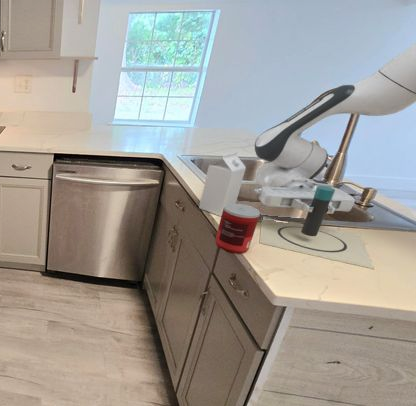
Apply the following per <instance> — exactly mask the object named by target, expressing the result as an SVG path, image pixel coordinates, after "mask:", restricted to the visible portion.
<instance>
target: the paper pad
mask: <svg viewBox="0 0 416 406" xmlns="http://www.w3.org/2000/svg"><path fill="white" fill-rule="evenodd" d="M269 218H270V217H269ZM269 218H265V219H269ZM260 222H261V223H260V234H259V244H260V245H261V244H262V245H264V246H270V247H273V248H278V249H281V250H282V249H283V250H287V251H291V252H296V253H300V254H305V255H308V256H313V257H318V258H322V259H327V260H332V261H335V262H340V263H344V264H349V265H354V266H357V267H362V268H366V269H370V270H375V269H376V268H375V266H374V263H373V261H372V259H371V256H370V254H369V252H368V249H367V246H366V244H365V242H364V240H363V237H362V235H361V234H358V233H353V232H348V231H342V230H336V229H332V228H326V227H321V226H320V228H319V231H318V233H317V236H308V235H305V234H303V233H301V230H302V228H303V225H304V223H300V222H296V221H290V222H288V223H283V222H276V221H274V220H262V219H261V221H260Z"/></svg>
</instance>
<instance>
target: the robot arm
mask: <svg viewBox="0 0 416 406" xmlns="http://www.w3.org/2000/svg"><path fill="white" fill-rule="evenodd" d="M415 103H416V43H415V44H413V45H411V46H410V47H408V48H407V49H405V50H404V51H402V52H401V53H399V54H398V55H396V56H395V57H393V58H392V59H390V60H389V61H388V62H386V63H385V64H383V66H381V67H380V68H379V69H378V70H376V71H375V72H373V73H372V74H371V75H369V76H367V77H366V78H363V79H361V80H359V81H356V82H355V83H351V84H343V85H339V86H337V87H335V88H333V89H332V90H330V91H328V92H327V93H325V94H324V95H322V96H320V97H318V98H317V99H316V100H314V101H312V102H311V103H309V104H307V105H306V106H305V107H303V108H302V109H300V110H299V111H297V112H296V113H294V114H292V115H291V116H290V117H288V118H287V119H285V120H284V121H281V122H280V123H279V124H277V125H274V126H272V127H270V128H268V129H267V130H265V131H263V132H262V133H260V135H258V136H257V138H256V140H255V142H254V152H255V154H256V157H257V158H259V159H261V160H264V161H267V162H266V163H263V164H262V165H260V166H259V167H258V168H257V169H256V171H255V175H254V176H255V177H254V178H255V181H256V183H257V185H258V186H259V187H258V188H254V189H253V193H254V194H255V195H257V196H258V199H259V201H260V203H261V204H263V205H264V206H266V207H273V208H287V209H288V208H290V209H297V210H300V211H302V212H304V213H308V212H312V211H313V209H314V207H313V206H312V205H311V204H312V201H313V198H314V194H315V192H316V189H317V187H318V186H326V187H331V188H333V189H335V192H334V194H333V197H332V199H331V200H330V203H329V206H328V208H327V211H326V213H325V215H326V214H329V215H330V214H331V215H333V214H334V213H335V212H350V211H351V210H352V208H353V207H354V205H355V201H356V199H355V198H354V197H353V196H352V195H351V194H349V193H347V192H346V191H343V190H342V189H340V188H337V187H334V184H333V183H332V182H329V181H323V180H316V179H314V178H316V177H317V176H318V175H319V174H321V173H322V171H324V169H325V168H326V166H327V163H328V158H329V156H328V151H327V149H325V148H324V147H322V146H320V145H318V144H316V143H314V142H312V141H309V140H308V139H305V138H303V137H301V136H299V134H301V133H303V132H304V131H306V130H308V129H309V128H311V127H312V126H314V125H316V124H317V123H318V122H320V121H322V120H323V119H325V118H327V117H330V116H334V115H340V114H341V115H342V114H343V115H344V114H347V115H349V114H351V115H361V116H368V117H381V116H389V115H394V114H398V113H399V112H402V111H403V110H405V109H407V108H409V107H410V106H412V105H413V104H415Z"/></svg>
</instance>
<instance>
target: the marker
mask: <svg viewBox="0 0 416 406" xmlns="http://www.w3.org/2000/svg"><path fill="white" fill-rule="evenodd" d="M334 192H335V189H333V188H331V187H326V186H318V187H317V189H316V192H315V194H314V198H313V201H312V204H311V205H312V206H313V207H314V209H313V211H312V212H307V215H306V217H305V219H304V223H303V224H304V225H303V228H302V230H301V233H303V234H305V235H308V236H317V233H318V231H319V228H320V227H321V226H322V223H323V220H324V218H325V215H326V211H327V208H328V206H329V203H330V200H331V199H332V197H333V194H334Z"/></svg>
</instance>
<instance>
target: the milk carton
mask: <svg viewBox="0 0 416 406" xmlns="http://www.w3.org/2000/svg"><path fill="white" fill-rule="evenodd" d="M246 169H247V168H246V165H245V164H244V163H243V161H242V160H241V159H240V158H239V156H238V151H235V152H231V153H227V154H224V155H222V158H221V159H219V160H217V161H215V162H212V163H211V164H209V165H208V167H207V173H206V176H205V181H204V186H203V189H202V193H201V198H200V202H199V207H198V209H200V210H202V211H205V212H208V213H210V214H213V215H215V216H219V217H221V216H222V212H223V209H224V206H225V205H226V204H231V203H237V201H238V197H239V193H240V190H241V187H242V184H243V180H244V176H245V172H246Z"/></svg>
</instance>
